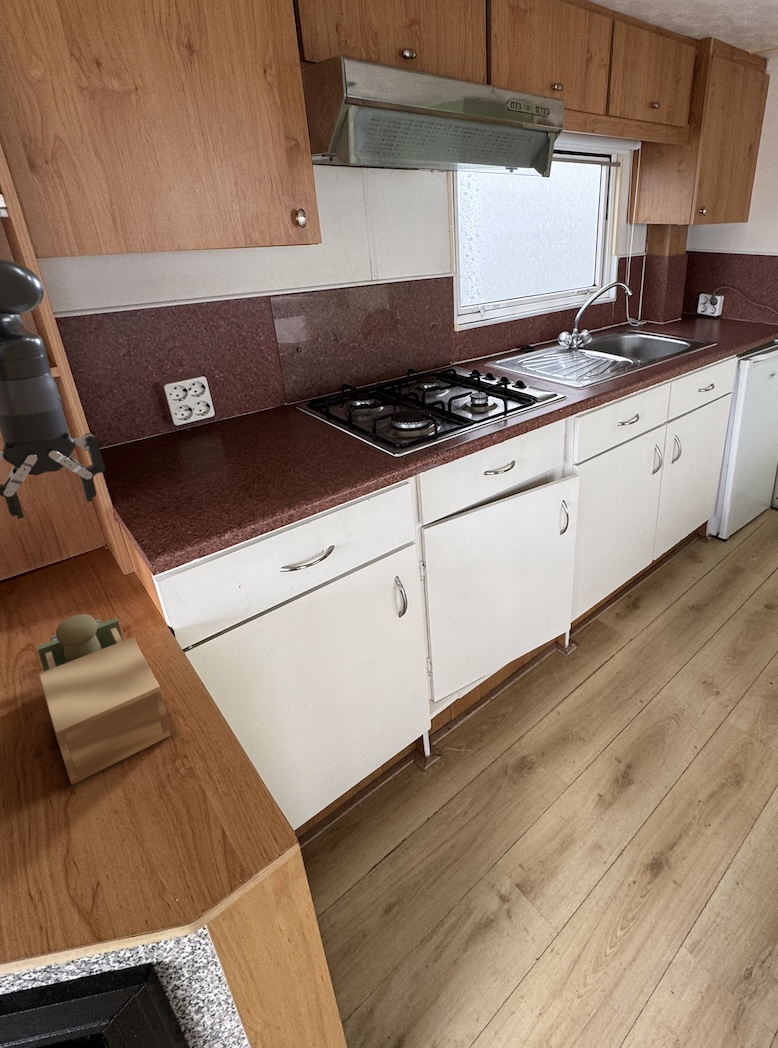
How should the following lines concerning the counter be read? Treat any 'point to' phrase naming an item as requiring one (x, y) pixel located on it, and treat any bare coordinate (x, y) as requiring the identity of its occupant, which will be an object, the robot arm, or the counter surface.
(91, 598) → the counter surface
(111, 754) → the cabinet
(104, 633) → the drawer
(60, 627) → the cork
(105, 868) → the counter surface
